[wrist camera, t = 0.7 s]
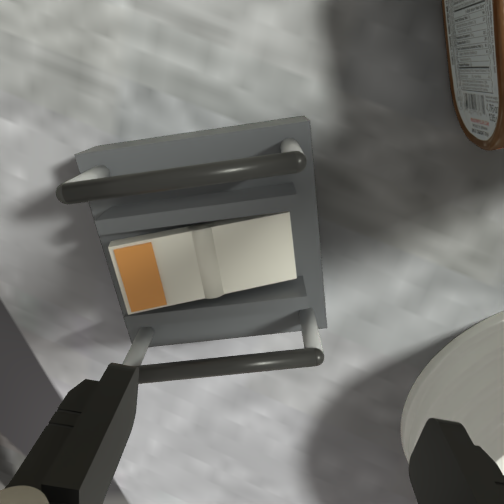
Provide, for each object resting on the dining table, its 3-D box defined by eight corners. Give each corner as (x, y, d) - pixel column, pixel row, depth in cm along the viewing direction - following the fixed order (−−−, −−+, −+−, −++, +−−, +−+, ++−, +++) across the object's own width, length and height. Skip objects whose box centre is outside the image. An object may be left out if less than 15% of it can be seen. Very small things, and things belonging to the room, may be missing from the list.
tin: (490, 133, 31) (568, 151, 23) (447, 145, 31) (509, 167, 23) (472, -110, 25) (568, -196, 17) (420, -91, 25) (490, -167, 18)
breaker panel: (304, 115, 30) (322, 131, 21) (320, 302, 36) (340, 378, 27) (96, 145, 31) (27, 173, 22) (145, 322, 38) (108, 401, 28)
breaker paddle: (283, 206, 29) (290, 213, 27) (291, 270, 31) (298, 280, 29) (111, 239, 27) (107, 248, 26) (130, 304, 29) (127, 316, 28)
